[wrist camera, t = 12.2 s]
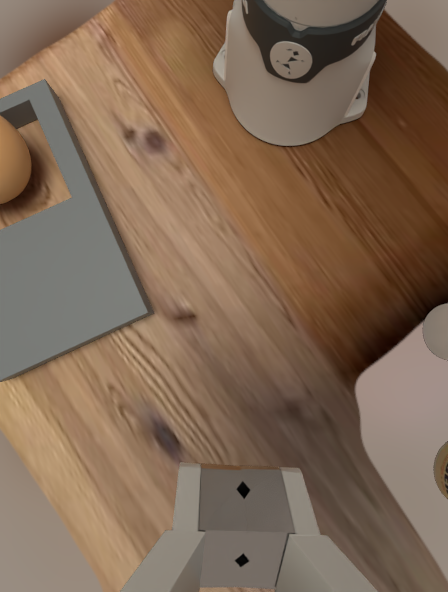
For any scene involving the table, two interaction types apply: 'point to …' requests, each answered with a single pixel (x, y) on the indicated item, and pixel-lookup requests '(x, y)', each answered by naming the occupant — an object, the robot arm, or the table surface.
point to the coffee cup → (442, 469)
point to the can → (437, 331)
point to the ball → (12, 162)
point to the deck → (61, 256)
